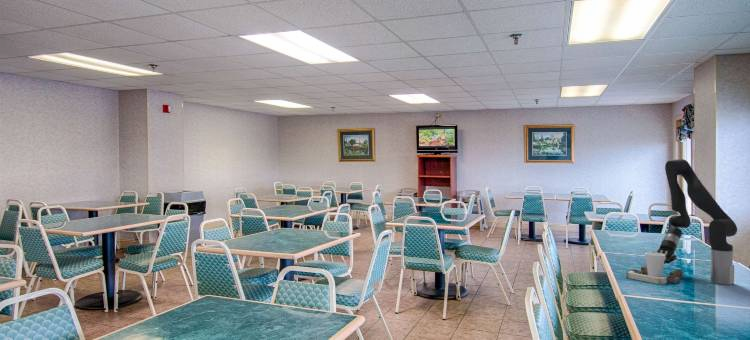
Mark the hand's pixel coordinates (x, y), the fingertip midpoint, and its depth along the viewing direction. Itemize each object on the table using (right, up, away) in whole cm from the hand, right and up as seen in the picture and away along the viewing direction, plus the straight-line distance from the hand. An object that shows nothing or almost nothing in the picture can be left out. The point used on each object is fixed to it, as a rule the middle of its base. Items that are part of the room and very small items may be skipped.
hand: (658, 267), depth 260 cm
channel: (+2, -5, +1) cm, 5 cm away
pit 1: (-11, -5, +3) cm, 13 cm away
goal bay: (-12, -5, -8) cm, 15 cm away
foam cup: (-4, -5, -3) cm, 7 cm away
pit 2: (-1, -5, -12) cm, 13 cm away
